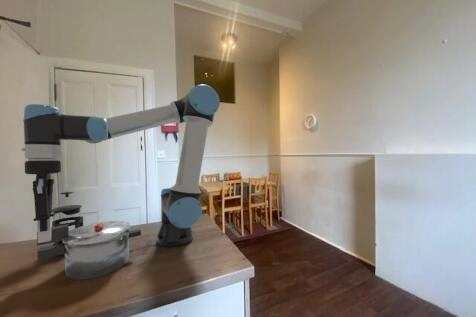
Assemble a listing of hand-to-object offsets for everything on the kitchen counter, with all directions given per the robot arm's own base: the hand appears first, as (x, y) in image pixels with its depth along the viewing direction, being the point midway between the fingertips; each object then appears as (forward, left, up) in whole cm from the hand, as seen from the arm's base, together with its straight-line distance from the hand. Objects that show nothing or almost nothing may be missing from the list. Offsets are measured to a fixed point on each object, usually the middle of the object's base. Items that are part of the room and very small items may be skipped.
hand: (44, 241), depth 58 cm
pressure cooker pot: (-8, -11, -13) cm, 18 cm away
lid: (-6, -9, -2) cm, 11 cm away
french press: (+11, -21, -13) cm, 27 cm away
